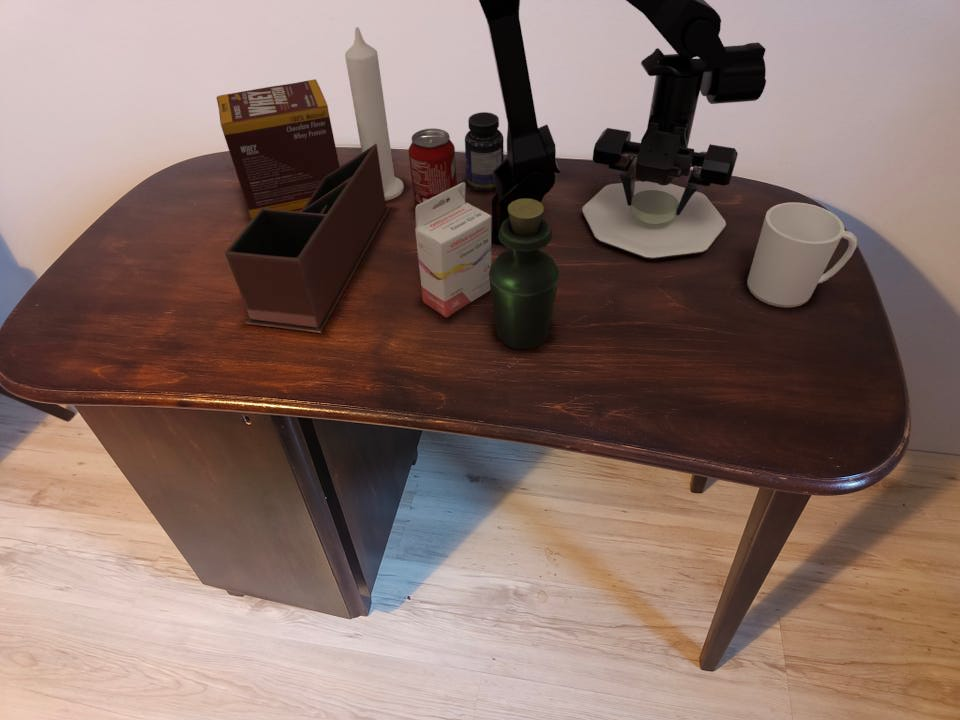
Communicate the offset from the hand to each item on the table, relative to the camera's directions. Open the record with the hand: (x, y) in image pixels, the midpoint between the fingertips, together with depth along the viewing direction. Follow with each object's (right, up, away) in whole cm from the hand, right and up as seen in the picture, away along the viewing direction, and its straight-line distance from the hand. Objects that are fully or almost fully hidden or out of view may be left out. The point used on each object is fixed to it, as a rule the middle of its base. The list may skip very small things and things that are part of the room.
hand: (653, 209), depth 94 cm
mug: (+15, -13, -10) cm, 22 cm away
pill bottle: (-25, +7, +12) cm, 28 cm away
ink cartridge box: (-29, -14, -9) cm, 33 cm away
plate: (0, -2, +2) cm, 3 cm away
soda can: (-32, +1, +6) cm, 33 cm away
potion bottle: (-20, -19, -14) cm, 31 cm away
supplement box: (-56, +5, +11) cm, 57 cm away
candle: (-42, +5, +11) cm, 43 cm away
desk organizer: (-48, -8, -2) cm, 49 cm away
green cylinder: (0, -1, +1) cm, 1 cm away
